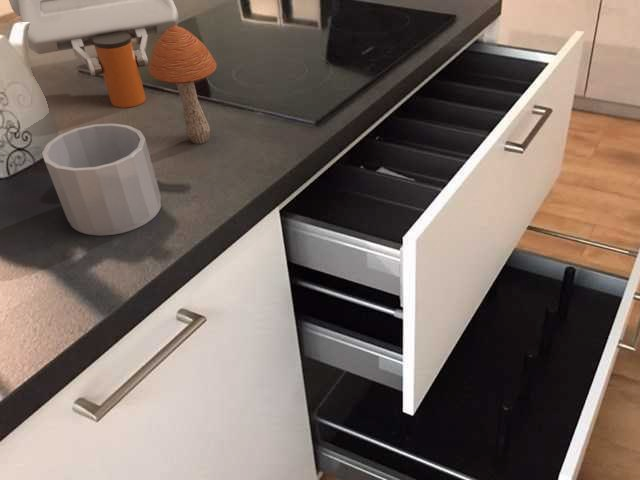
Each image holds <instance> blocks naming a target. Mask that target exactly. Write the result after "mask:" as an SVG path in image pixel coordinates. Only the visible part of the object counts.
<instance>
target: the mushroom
mask: <svg viewBox="0 0 640 480" xmlns="http://www.w3.org/2000/svg"><path fill="white" fill-rule="evenodd" d="M151 52H152V53H151V54H150V59H149V63H148V73H149V75H150V76H151V77H153V79H156V80H158V81H159V82H163V83H168V84H175V85H176V89H177V91H178V94H179V97H180V100H181V103H182V111H183V119H184V126H185V133H186V136H187V137H188V138H189V140H190V141H191V142H192V143H193V144H204V143H206V142H208V141H209V140H210V135H211V128H210V125H209V123H208V120H207V118H206V115H205V113H204V111H203V109H202V107H201V105H200V101H199V99H198V95H197V90H196V85H195V82H199V81H201V80H203V79H204V80H205V79H207V78H208V77H209V76H211V75H212V74H213V73H214V72H215V71H216V69H217V66H218V64H217V62H216V60H215V58H214V57H213V55H212V54H211V52H210V50H209V49H208V47H206V45H205V44H204V43H203V42H202V41H201V40H200V39H199V38H198V37H197V36H195V35H194V34H193V33H192V32H191V31H189V30H187V29H185V28H184V27H181V26H179V25H177V26H176V25H173V26H172V27H170V28H169V29H167V30H166V31H165V32H164V33H163V34H160V37H159V38H158V40H157V41H156V42H155V45H154V47H153V49H152V51H151Z"/></svg>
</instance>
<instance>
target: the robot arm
mask: <svg viewBox="0 0 640 480" xmlns="http://www.w3.org/2000/svg"><path fill="white" fill-rule="evenodd" d="M8 1H9V4H10V7H11V10H12V11H13V12H14V13H15V15H16V16H18V17H20V21H21V23H22V22H30V25H29V30H28V37H27V39H26V42H27V45H28V47H29V49H30V50H31V51H33V52H34V53H36V54H38V55H44V54H49V53H50V54H51V53H55V52H62V51H67V50H72V51H73V54H74V56H75V57H77V59H78V60H80V61H81V62H82V63H83V64H85V65H86V66H87V68H88V70H89V73H90V75H91V76H92V77H94V76H100V75H103V73H102V68H101V65H100V63H99V60H98V56H97V57H91V56H90V55H89V54H88V53H87V52H86V50H85V47H91V46H94V44H93V41H92V39H93V37H95V36H96V35H101V34H107V33H113V32H120V31H121V32H126V33H128V34H130V36H131V40H132V39H134V40H135V41H136V43H137V45H139V49H137V50H136V49H135V50H134V53H135V57H136V61H137V65H138V68H141V67H142V68H143V67H147V66H148V67H149V59H148V56H147V53H146V51H147V47H148V37H150V36H156V35H157V36H158V35H162V34H163V33H164V32H165V31H166V30H167V29H169V28H170V27H172V26H173V25H176V26H179V12H178V9H177V7H176V5H175V4H176V3H175V2H174V0H8Z"/></svg>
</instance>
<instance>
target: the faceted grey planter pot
mask: <svg viewBox="0 0 640 480" xmlns="http://www.w3.org/2000/svg"><path fill="white" fill-rule="evenodd" d="M41 155H42V159H43V161H44V163H45V167H46V169H47V171H48V174H49V176H50V179H51V182H52V184H53V186H54V189H55V191H56V194H57V196H58V199H59V202H60V204H61V207H62V209H63V212H64V215H65V217H66V220H67V222H68V224H69V226H70V227H71V228H72V229H73V230H75V231H77V232H79V233H81V234H84V235H89V236H99V237H100V236H102V237H103V236H105V237H106V236H113V235H120V234H124V233H127V232H131V231H134V230H137V229H138V228H139V229H140V228H141V227H142V226H144V225H146V224H148V223H149V222H150V221H152V220H153V219H154V218H155V217H157V215H158V214H159V212H160V210H161V208H162V196H161V192H160V188H159V184H158V181H157V178H156V177H157V176H156V173H155V170H154V165H153V162H152V159H151V154H150V151H149V147H148V144H147V140H146V138H145V136H144V134H143V132H142V131H141V130H139V129H137V128H135V127H133V126H131V125H126V124H121V123H120V124H119V123H114V122H113V123H95V124H90V125H84V126H80V127H76V128H73V129H71V130H68V131H66V132H63V133H61V134H58V135H57V136H56V137H54V138H52V140H50V141H48V142H47V143H46V145H45V146H44V148H43V150H42V152H41Z"/></svg>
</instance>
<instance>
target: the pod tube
mask: <svg viewBox="0 0 640 480" xmlns="http://www.w3.org/2000/svg"><path fill="white" fill-rule="evenodd" d="M92 41H93V44H94V45H93V46H94V49H95V52H96V56H97V57H98V60H99V63H100V65H101V68H102V73H103V74H102V77H103V80H104V83H105V86H106V90H107V93H108V97H109V100H110V104H111V105H112V106H114V107H116V108H125V109H126V108H133V107H137V106H140V105H142V104H143V103H145V101H146V100H147V96H146V93H145V89H144V85H143V80H142V78H141V77H142V76H141V73H140V70H139V67H138V65H137V61H136V57H135V53H134V51H135V50H134V46H133V42H132V39H131V36H130V34H128V33H126V32H121V31H120V32H113V33H107V34H101V35H96V36H95V37H93V39H92Z"/></svg>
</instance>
